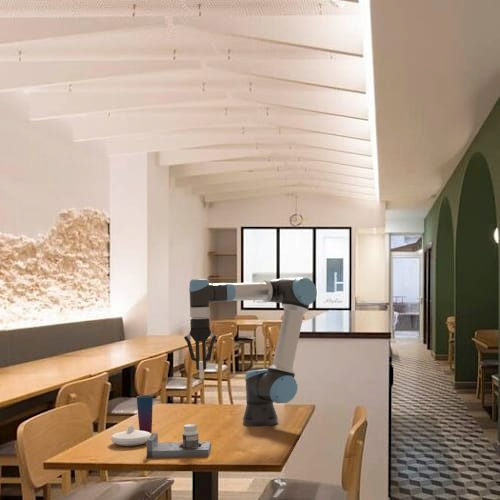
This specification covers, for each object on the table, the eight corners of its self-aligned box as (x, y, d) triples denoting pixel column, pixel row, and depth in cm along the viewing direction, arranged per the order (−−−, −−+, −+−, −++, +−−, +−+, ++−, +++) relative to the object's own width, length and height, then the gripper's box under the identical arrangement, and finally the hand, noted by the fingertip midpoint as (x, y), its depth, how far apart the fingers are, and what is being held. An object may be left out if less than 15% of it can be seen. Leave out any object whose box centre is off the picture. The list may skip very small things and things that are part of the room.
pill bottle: (183, 451, 266) (182, 424, 266) (198, 450, 267) (197, 423, 267) (183, 455, 260) (182, 427, 261) (199, 454, 261) (198, 426, 261)
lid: (116, 450, 271) (115, 431, 271) (106, 442, 285) (106, 424, 285) (156, 445, 277) (156, 427, 277) (145, 438, 291) (145, 420, 292)
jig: (211, 447, 270) (210, 431, 270) (208, 456, 257) (207, 439, 257) (152, 449, 270) (152, 433, 270) (146, 458, 257) (146, 441, 257)
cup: (150, 434, 298) (149, 397, 298) (135, 433, 299) (134, 397, 300) (156, 430, 305) (155, 394, 305) (140, 430, 306) (139, 394, 306)
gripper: (217, 317, 288) (218, 376, 287) (184, 318, 288) (186, 377, 287) (215, 318, 280) (217, 379, 279) (182, 319, 281) (184, 380, 280)
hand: (201, 378), depth 283 cm, fingers closed
